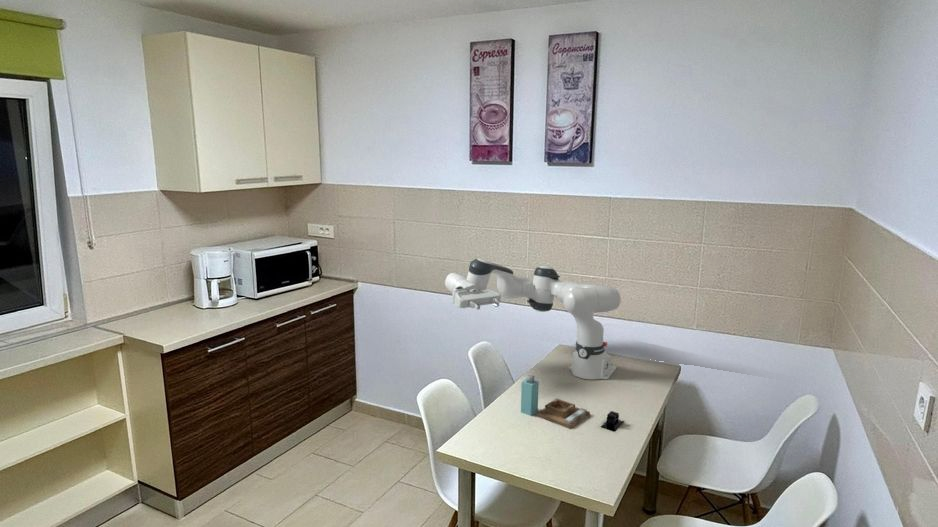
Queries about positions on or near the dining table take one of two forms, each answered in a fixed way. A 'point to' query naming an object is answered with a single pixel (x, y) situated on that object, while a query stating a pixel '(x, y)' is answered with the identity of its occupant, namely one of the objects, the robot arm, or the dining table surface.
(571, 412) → the jig
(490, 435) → the dining table surface
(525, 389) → the teal bottle
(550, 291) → the robot arm
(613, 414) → the black block on base
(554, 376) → the dining table surface
